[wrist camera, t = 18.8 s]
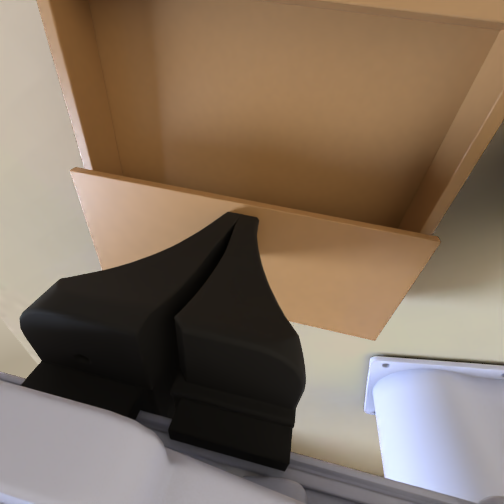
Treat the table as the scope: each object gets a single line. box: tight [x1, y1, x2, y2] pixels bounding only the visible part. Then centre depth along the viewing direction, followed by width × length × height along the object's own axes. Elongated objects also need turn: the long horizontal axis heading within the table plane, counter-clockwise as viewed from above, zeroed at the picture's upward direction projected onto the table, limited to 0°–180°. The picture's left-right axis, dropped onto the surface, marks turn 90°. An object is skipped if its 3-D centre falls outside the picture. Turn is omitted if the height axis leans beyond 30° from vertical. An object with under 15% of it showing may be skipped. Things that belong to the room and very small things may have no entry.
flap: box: [70, 167, 441, 341], centre depth 13 cm, size 6×15×1 cm, turn 84°
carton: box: [36, 0, 504, 235], centre depth 12 cm, size 13×15×2 cm
